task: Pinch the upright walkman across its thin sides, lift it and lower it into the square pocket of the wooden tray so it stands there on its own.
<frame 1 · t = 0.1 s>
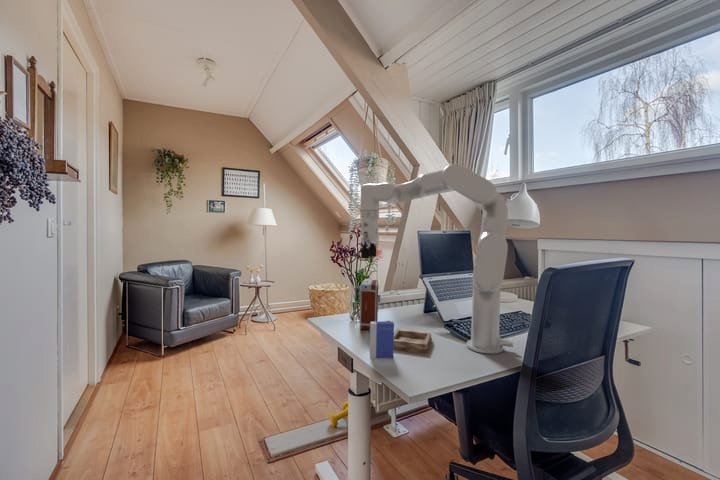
hand: (368, 257, 136), 31 cm above the table, tool pointing down, fingers open, 9 cm apart
cine camera: (369, 324, 150), on the table
walkman: (381, 357, 113), on the table
wooden tray: (410, 344, 125), on the table
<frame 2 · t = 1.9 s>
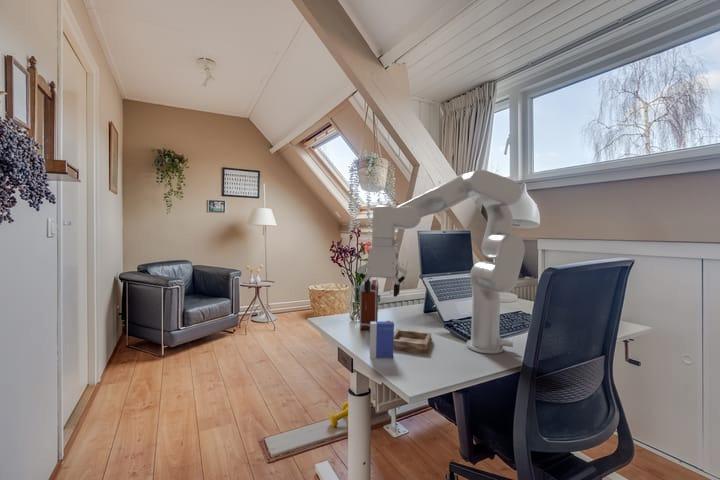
hand: (381, 294, 112), 21 cm above the table, tool pointing down, fingers open, 9 cm apart
nothing on the table moved.
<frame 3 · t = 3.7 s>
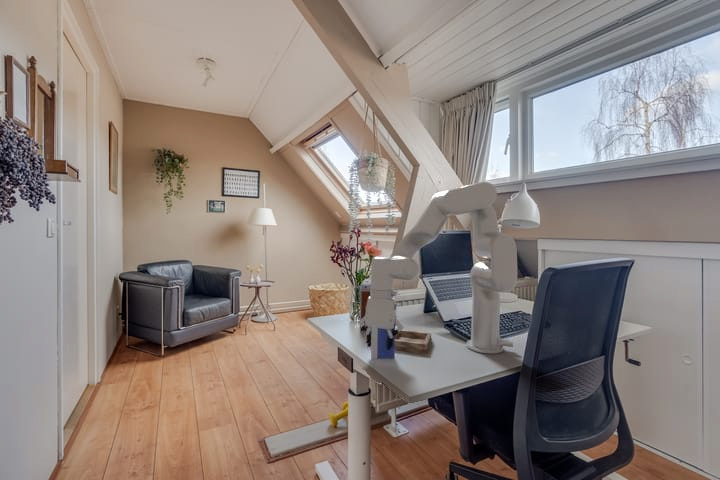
hand: (379, 346, 112), 3 cm above the table, tool pointing down, fingers closed on walkman, 6 cm apart
walkman: (382, 357, 112), on the table, touching gripper
everything else where it was.
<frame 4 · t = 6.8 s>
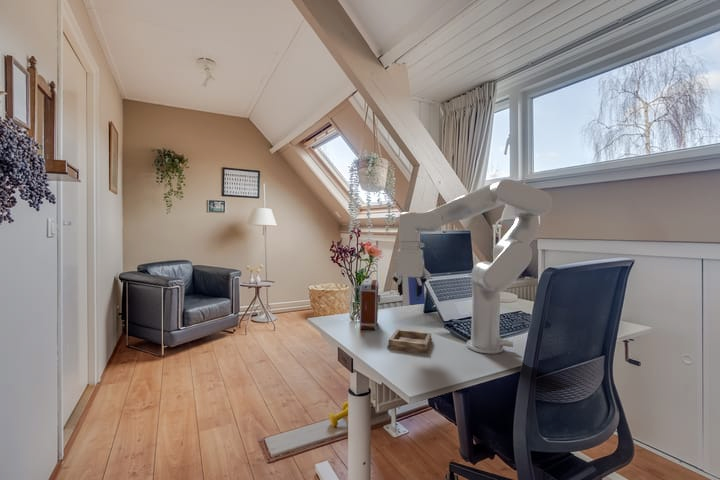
hand: (409, 295, 122), 19 cm above the table, tool pointing down, fingers closed on walkman, 5 cm apart
walkman: (413, 304, 122), point 15 cm above the table, touching gripper
everything else where it was.
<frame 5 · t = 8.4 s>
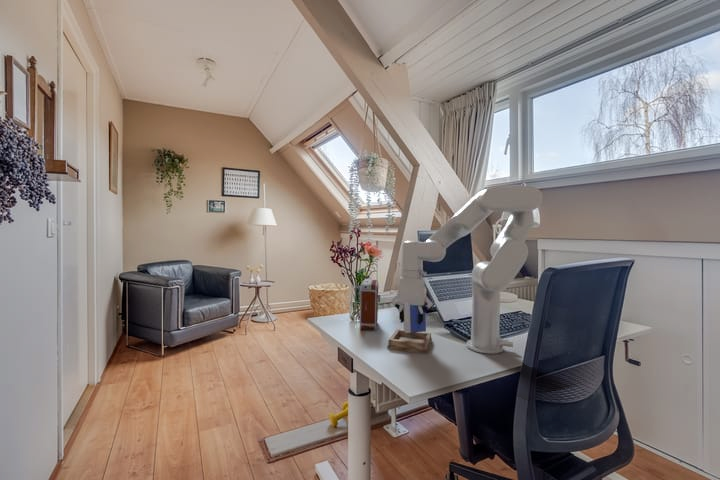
hand: (411, 322, 124), 8 cm above the table, tool pointing down, fingers closed on walkman, 5 cm apart
walkman: (414, 331, 124), point 5 cm above the table, touching gripper
everything else where it was.
when the fingers open (5 cm above the table, at t = 9.5 s): walkman stays where it is, resting on wooden tray.
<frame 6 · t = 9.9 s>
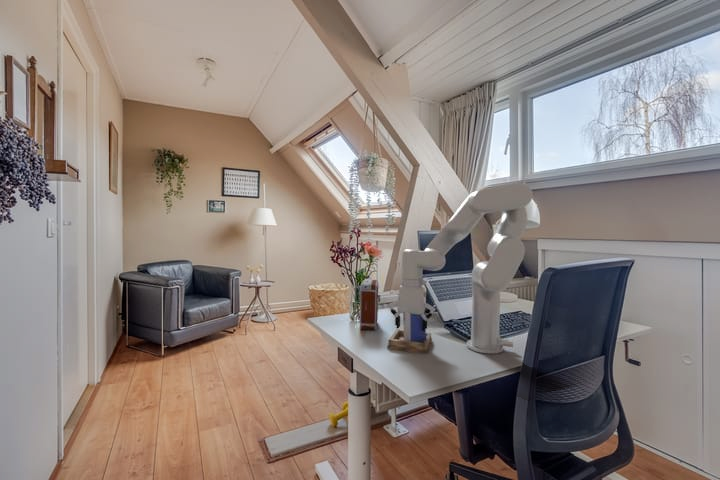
hand: (410, 328, 124), 6 cm above the table, tool pointing down, fingers open, 9 cm apart
walkman: (414, 342, 124), point 1 cm above the table, touching gripper, wooden tray
everything else where it was.
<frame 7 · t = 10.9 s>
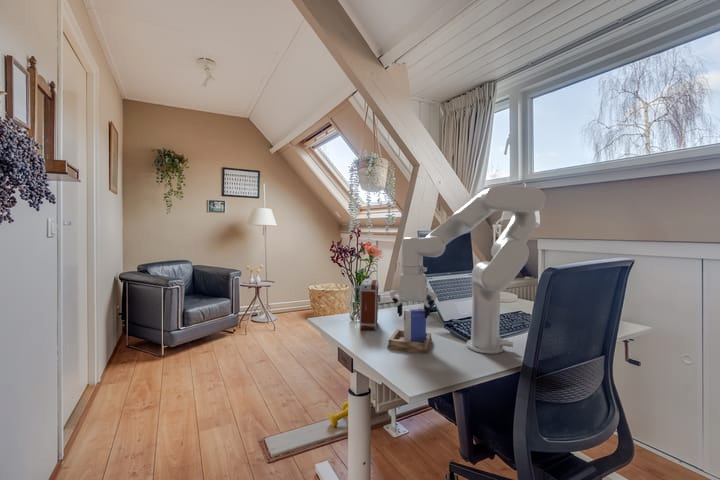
hand: (413, 316, 124), 11 cm above the table, tool pointing down, fingers open, 9 cm apart
walkman: (414, 342, 124), point 1 cm above the table, touching wooden tray
everything else where it was.
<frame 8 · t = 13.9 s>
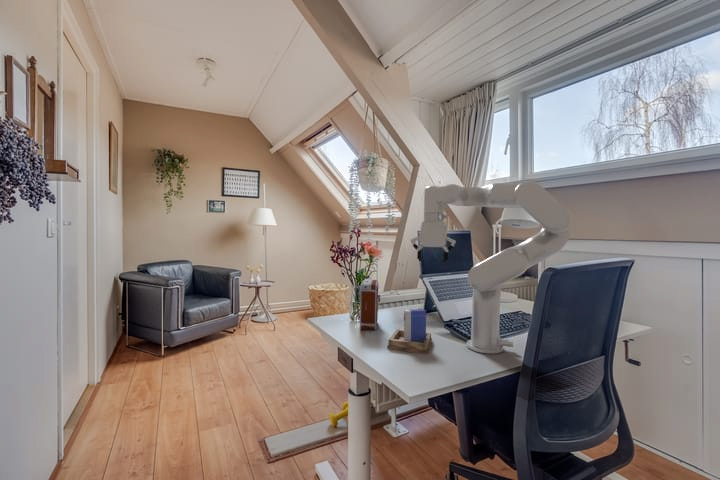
hand: (432, 261, 132), 30 cm above the table, tool pointing down, fingers open, 9 cm apart
nothing on the table moved.
at the end: walkman 1.6 cm off-centre on the wooden tray, point 1.1 cm above the wooden tray's base; walkman tilted 3°; the gripper is holding nothing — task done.
